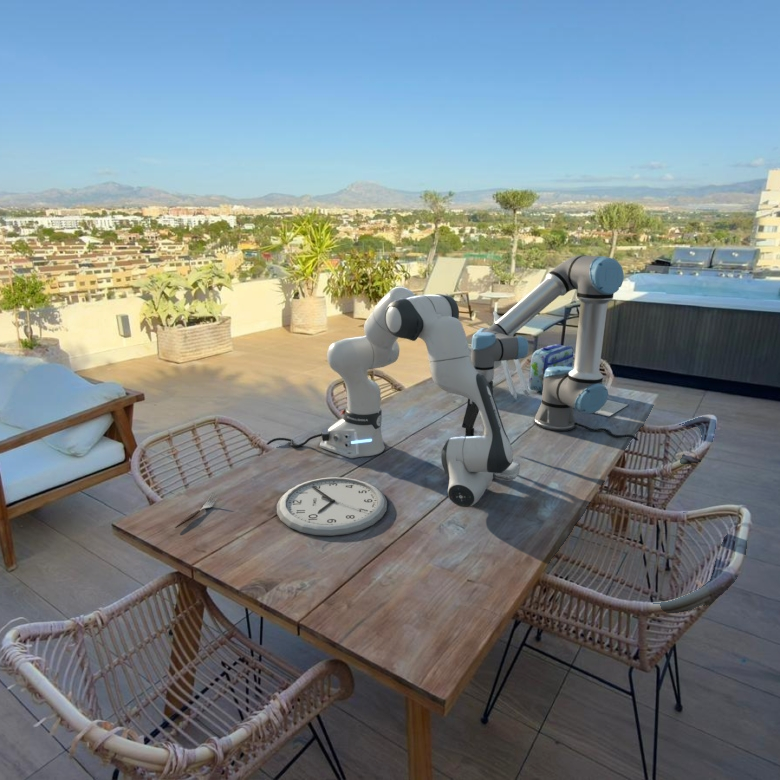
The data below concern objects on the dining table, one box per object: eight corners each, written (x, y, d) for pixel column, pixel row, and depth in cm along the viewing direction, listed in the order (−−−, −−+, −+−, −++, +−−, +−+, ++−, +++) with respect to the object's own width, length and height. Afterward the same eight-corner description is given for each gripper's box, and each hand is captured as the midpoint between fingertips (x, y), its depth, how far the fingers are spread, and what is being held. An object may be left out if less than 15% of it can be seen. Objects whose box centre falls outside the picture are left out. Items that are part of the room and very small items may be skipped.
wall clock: (392, 527, 129) (268, 531, 127) (391, 533, 130) (269, 537, 127) (383, 473, 158) (282, 475, 155) (383, 478, 158) (282, 480, 156)
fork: (171, 528, 130) (170, 521, 130) (212, 499, 145) (211, 492, 144) (179, 530, 129) (178, 523, 129) (220, 500, 144) (219, 494, 143)
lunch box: (545, 397, 238) (550, 352, 231) (524, 391, 245) (529, 348, 239) (572, 386, 255) (578, 344, 249) (552, 381, 262) (557, 340, 256)
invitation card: (608, 416, 214) (573, 407, 224) (608, 416, 214) (573, 408, 224) (628, 404, 229) (594, 396, 238) (628, 405, 229) (594, 397, 238)
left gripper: (515, 469, 144) (525, 451, 156) (445, 455, 152) (460, 439, 164) (513, 490, 146) (523, 470, 158) (444, 475, 154) (459, 457, 166)
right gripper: (488, 369, 183) (485, 425, 190) (452, 387, 164) (450, 448, 171) (508, 373, 179) (504, 430, 186) (474, 391, 160) (471, 454, 167)
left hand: (490, 454), depth 161 cm, fingers closed on jar, 5 cm apart
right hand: (478, 439), depth 178 cm, fingers open, 13 cm apart
